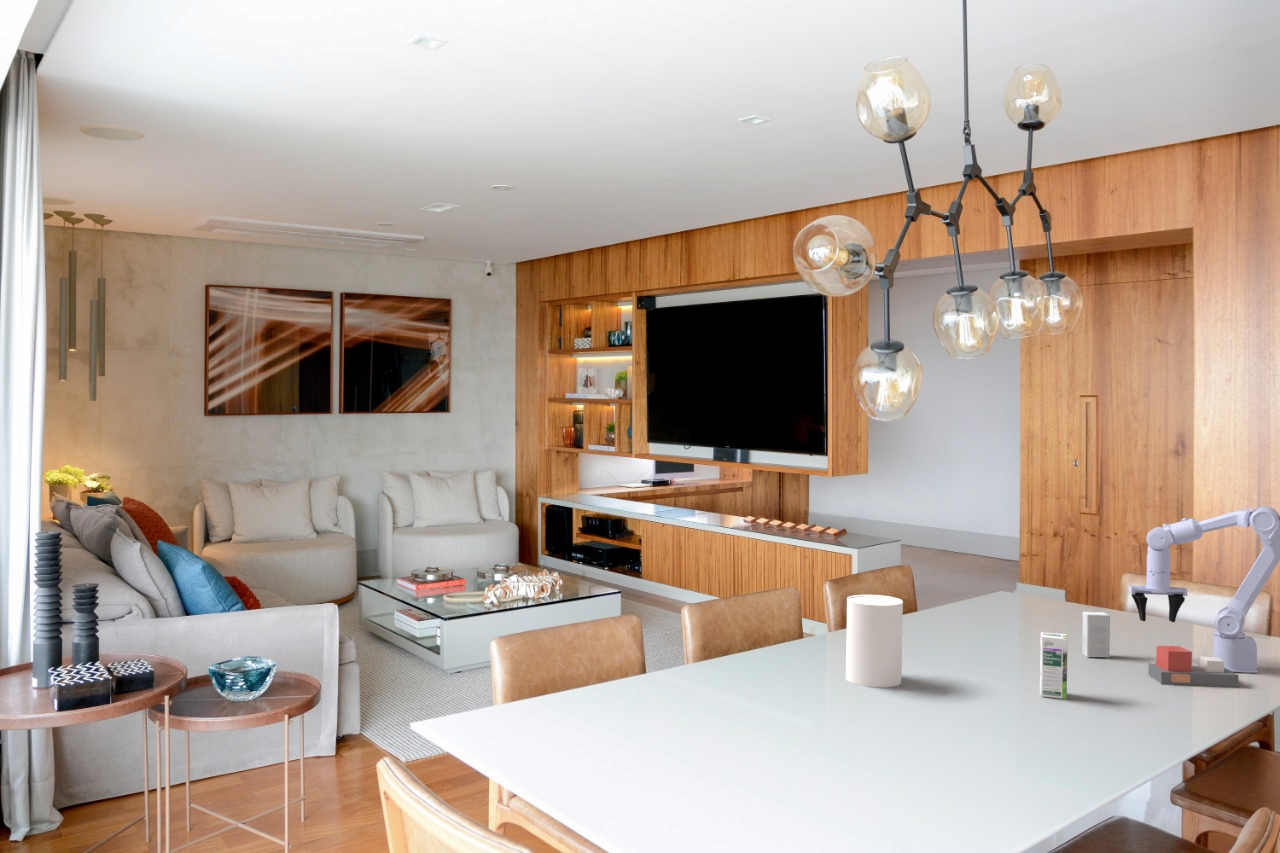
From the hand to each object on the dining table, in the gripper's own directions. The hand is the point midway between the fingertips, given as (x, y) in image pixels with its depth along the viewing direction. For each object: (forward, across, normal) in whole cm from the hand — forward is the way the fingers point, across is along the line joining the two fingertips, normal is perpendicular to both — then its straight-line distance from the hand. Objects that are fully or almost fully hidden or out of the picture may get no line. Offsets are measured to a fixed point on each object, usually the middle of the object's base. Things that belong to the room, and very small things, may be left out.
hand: (1157, 620), depth 267 cm
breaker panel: (+10, 0, +22) cm, 24 cm away
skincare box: (+11, +16, 0) cm, 19 cm away
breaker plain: (+8, -4, +22) cm, 24 cm away
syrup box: (+11, +39, +40) cm, 57 cm away
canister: (+11, +80, +33) cm, 87 cm away
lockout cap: (+7, +4, +22) cm, 24 cm away
